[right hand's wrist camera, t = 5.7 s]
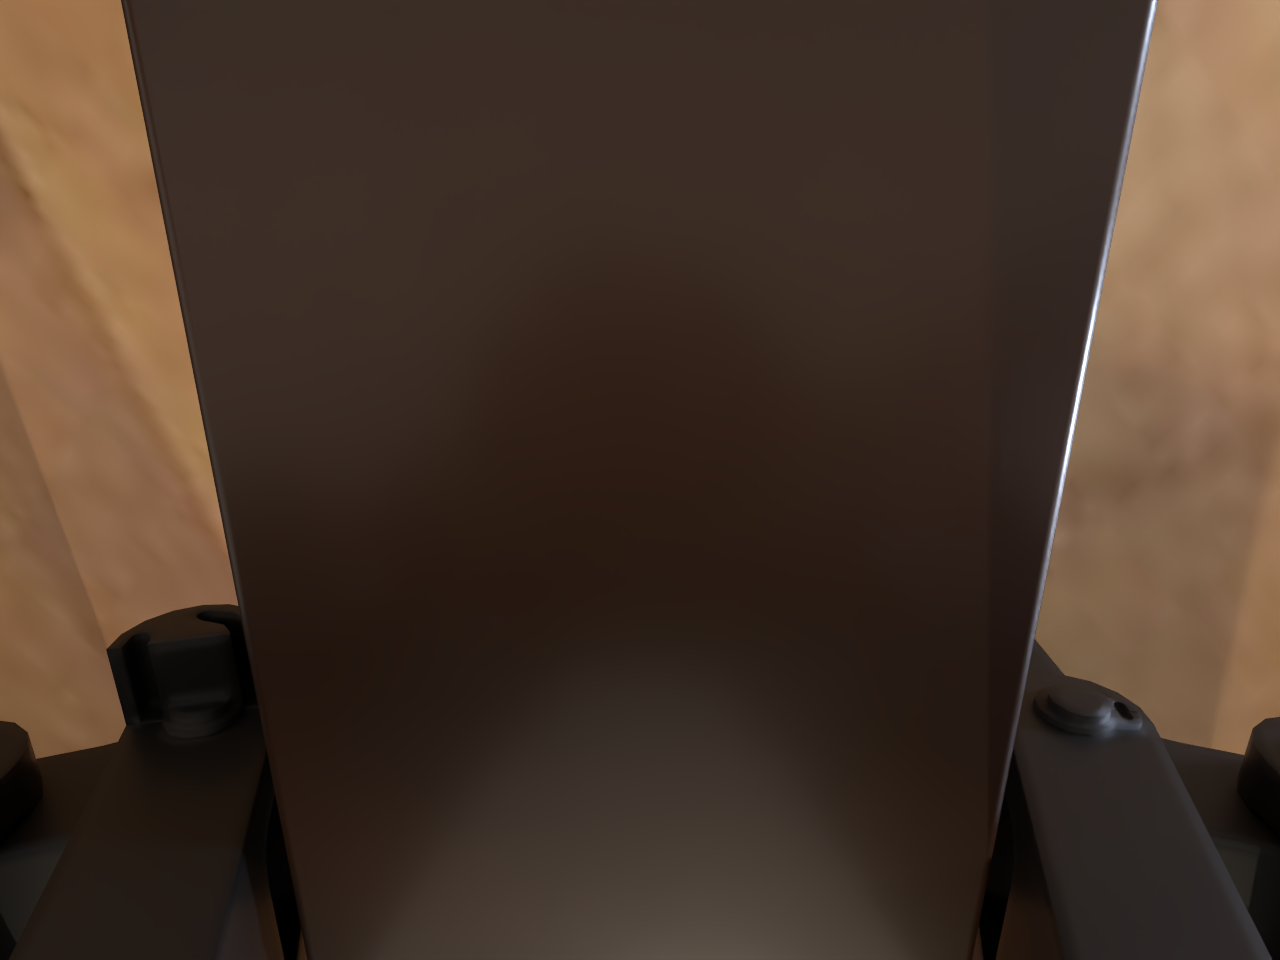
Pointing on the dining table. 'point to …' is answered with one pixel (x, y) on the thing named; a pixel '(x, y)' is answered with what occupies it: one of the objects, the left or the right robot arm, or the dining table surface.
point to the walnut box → (639, 444)
